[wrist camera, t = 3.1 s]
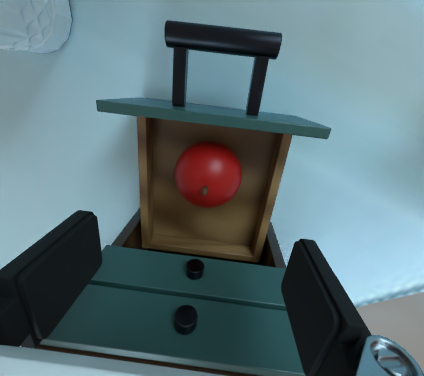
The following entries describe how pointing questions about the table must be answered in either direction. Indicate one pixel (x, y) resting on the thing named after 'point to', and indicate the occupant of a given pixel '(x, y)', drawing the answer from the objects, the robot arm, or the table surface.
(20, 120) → the table surface
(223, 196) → the apple
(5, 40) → the white cup
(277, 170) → the drawer
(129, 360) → the cabinet
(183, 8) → the table surface
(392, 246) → the table surface
